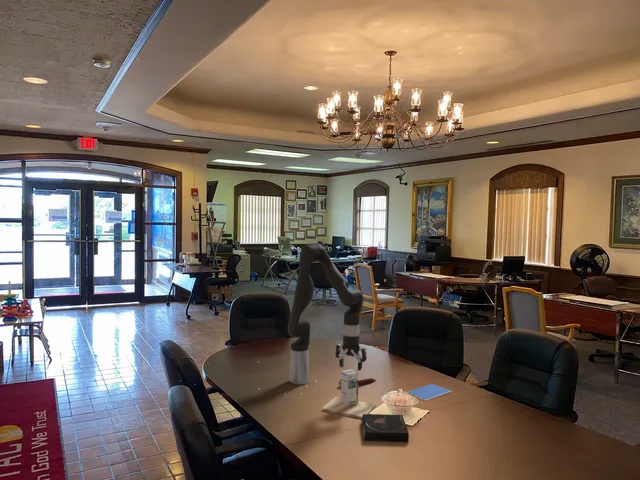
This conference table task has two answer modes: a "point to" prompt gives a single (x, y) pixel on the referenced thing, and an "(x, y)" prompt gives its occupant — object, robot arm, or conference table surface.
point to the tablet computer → (429, 392)
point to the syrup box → (349, 387)
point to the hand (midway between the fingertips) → (350, 368)
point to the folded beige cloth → (348, 408)
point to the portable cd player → (384, 428)
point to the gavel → (362, 381)
